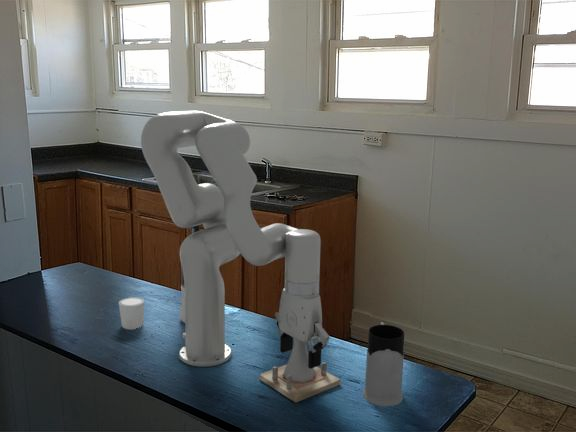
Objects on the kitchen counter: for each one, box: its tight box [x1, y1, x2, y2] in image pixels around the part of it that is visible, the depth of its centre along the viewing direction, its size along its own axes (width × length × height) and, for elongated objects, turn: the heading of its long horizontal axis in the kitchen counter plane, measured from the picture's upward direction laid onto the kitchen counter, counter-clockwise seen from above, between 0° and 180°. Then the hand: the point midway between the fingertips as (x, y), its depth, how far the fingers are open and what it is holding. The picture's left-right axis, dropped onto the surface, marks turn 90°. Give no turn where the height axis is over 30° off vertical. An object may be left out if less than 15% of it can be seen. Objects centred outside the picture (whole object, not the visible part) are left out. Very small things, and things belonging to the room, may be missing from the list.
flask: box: [282, 337, 316, 383], centre depth 138 cm, size 7×7×10 cm
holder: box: [362, 322, 405, 407], centre depth 134 cm, size 9×14×15 cm, turn 177°
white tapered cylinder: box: [118, 296, 146, 330], centre depth 167 cm, size 7×7×7 cm
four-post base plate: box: [258, 361, 341, 403], centre depth 138 cm, size 13×13×4 cm
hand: (300, 358), depth 138 cm, fingers open, 9 cm apart
